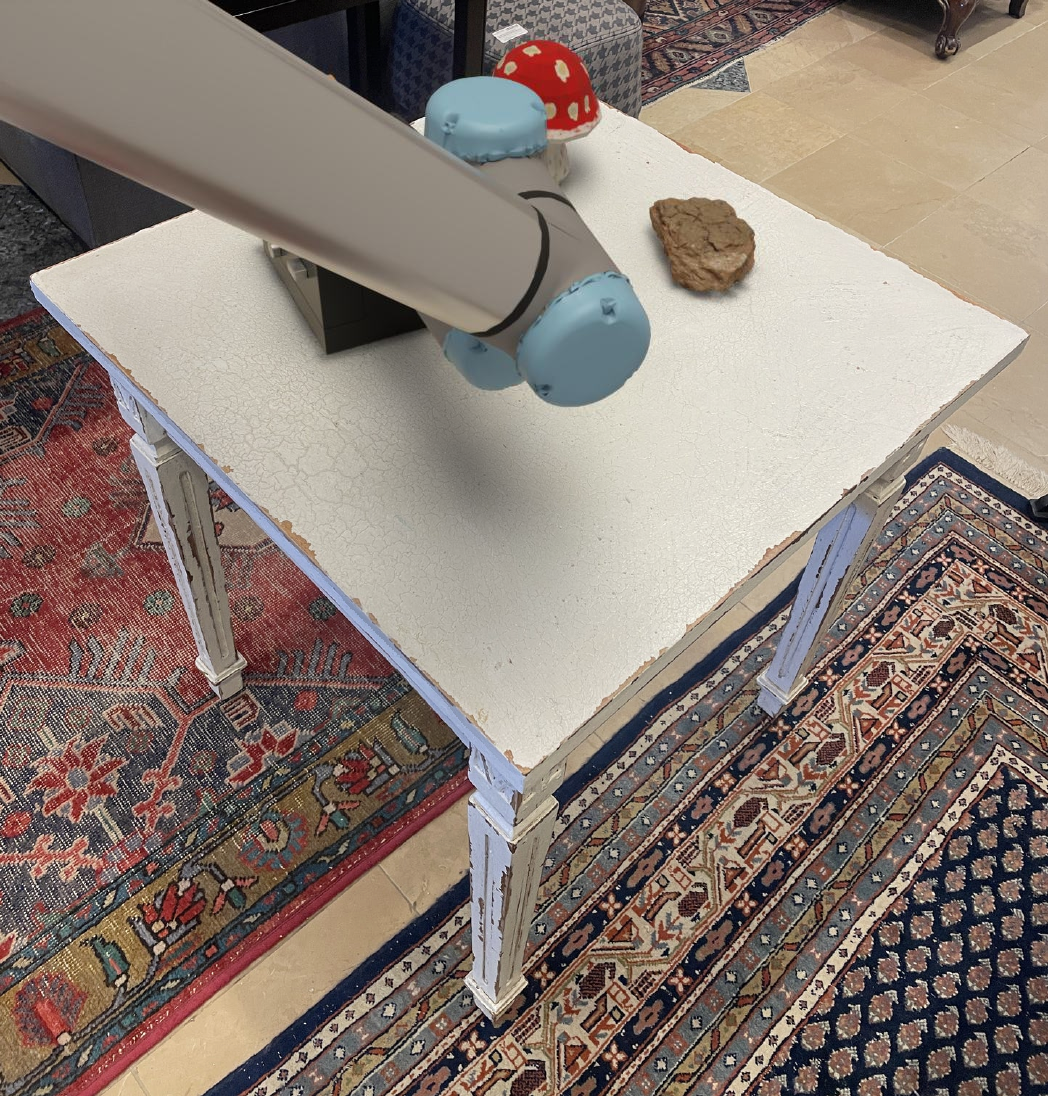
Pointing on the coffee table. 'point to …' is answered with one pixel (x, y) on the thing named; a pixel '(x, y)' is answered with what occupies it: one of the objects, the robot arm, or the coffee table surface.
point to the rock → (704, 242)
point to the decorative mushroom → (555, 94)
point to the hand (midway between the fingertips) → (315, 96)
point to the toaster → (340, 304)
